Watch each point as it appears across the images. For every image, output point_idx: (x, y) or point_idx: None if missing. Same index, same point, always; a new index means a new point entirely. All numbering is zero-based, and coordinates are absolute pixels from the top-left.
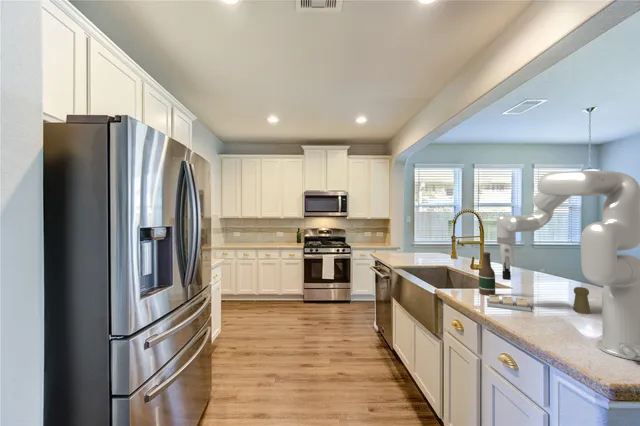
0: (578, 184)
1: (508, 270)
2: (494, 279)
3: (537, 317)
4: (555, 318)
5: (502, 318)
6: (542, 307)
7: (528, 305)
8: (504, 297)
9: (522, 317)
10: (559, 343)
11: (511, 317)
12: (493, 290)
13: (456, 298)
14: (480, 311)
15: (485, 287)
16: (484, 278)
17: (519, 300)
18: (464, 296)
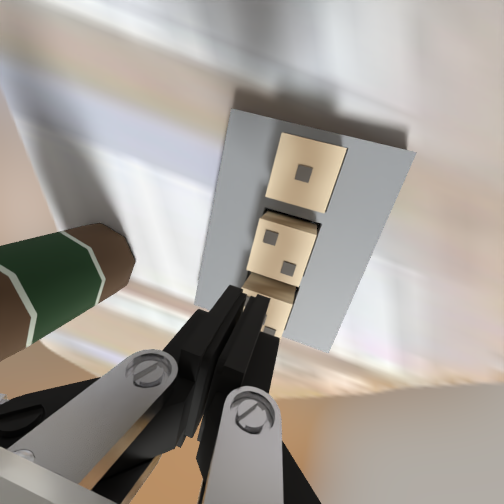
0: None
1: (290, 462)
2: (11, 258)
3: (450, 136)
4: (469, 16)
5: (472, 331)
6: (232, 15)
7: (297, 127)
8: (275, 268)
9: (452, 225)
10: None
11: (453, 282)
12: (96, 250)
13: None
14: (362, 378)
15: (92, 297)
16: (36, 331)
17: (329, 197)
18: None
